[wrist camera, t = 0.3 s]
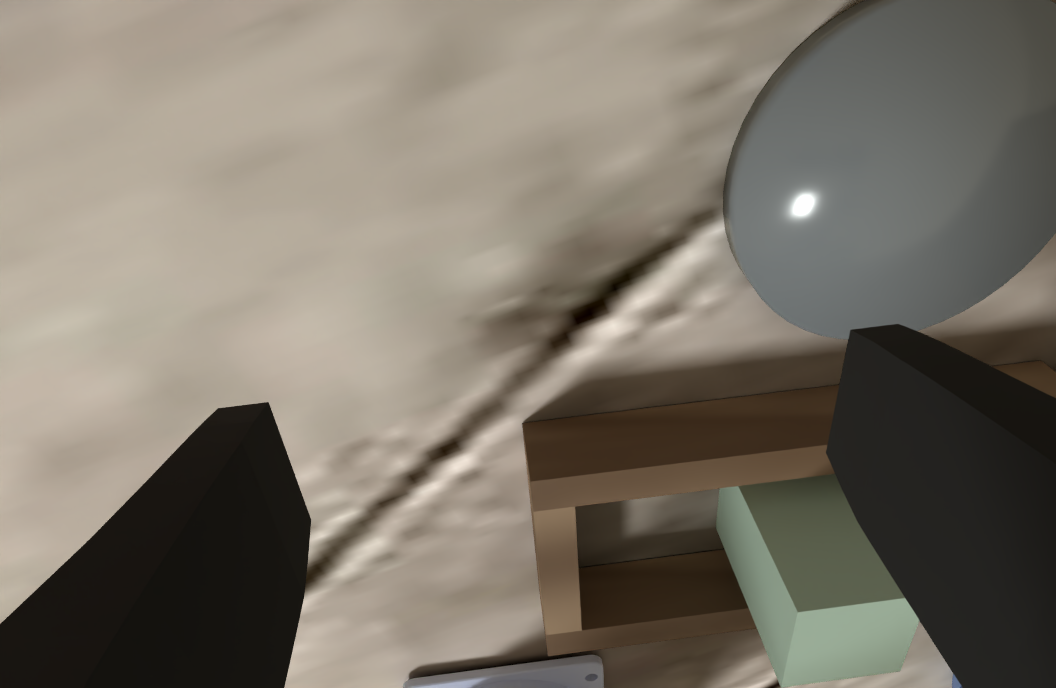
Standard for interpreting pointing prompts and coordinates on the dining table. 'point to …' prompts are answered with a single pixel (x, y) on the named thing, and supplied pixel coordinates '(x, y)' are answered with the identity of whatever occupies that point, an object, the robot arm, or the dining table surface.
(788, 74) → the coaster
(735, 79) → the dining table surface
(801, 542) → the part block
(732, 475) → the pocket frame
